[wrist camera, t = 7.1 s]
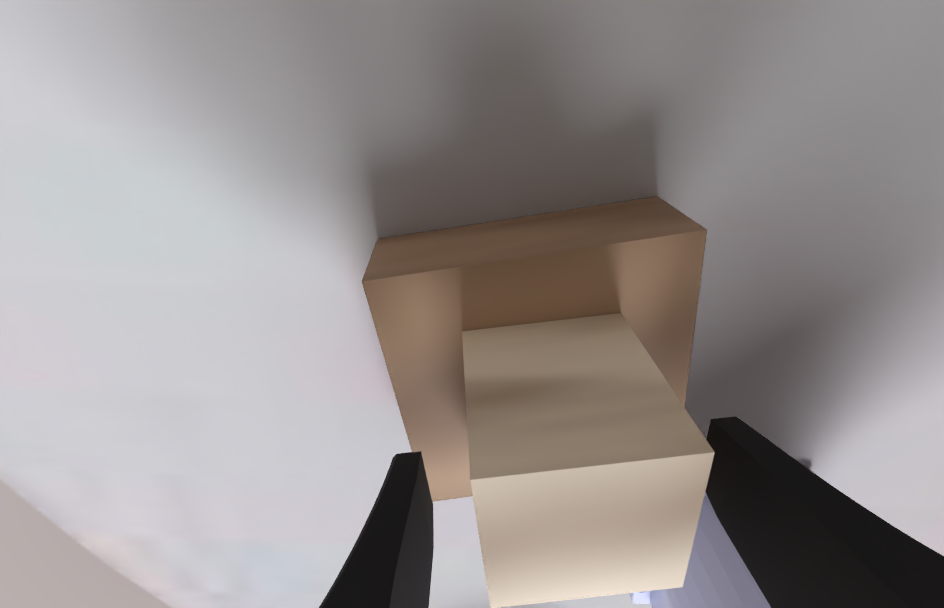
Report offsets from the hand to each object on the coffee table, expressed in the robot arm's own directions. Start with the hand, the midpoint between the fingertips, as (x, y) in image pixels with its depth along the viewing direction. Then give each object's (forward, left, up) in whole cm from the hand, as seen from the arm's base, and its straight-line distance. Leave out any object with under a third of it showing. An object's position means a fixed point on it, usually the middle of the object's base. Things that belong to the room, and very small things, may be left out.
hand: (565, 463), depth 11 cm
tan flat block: (0, 0, -6) cm, 6 cm away
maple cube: (0, 0, -3) cm, 3 cm away
